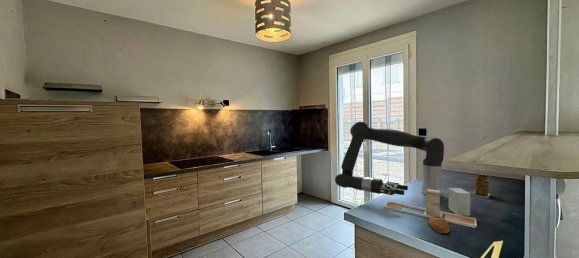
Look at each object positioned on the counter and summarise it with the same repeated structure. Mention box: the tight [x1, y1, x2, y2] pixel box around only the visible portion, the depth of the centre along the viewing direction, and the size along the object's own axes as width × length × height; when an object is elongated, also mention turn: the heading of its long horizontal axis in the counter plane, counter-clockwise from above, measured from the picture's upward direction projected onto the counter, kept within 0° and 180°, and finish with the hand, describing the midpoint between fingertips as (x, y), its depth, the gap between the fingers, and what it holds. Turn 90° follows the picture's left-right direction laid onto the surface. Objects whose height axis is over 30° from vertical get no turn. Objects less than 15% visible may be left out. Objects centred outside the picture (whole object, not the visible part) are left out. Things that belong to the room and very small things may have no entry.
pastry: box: [427, 216, 450, 234], centre depth 93 cm, size 9×7×4 cm
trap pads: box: [387, 203, 475, 225], centre depth 107 cm, size 7×35×1 cm, turn 53°
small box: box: [448, 187, 471, 217], centre depth 108 cm, size 8×6×10 cm
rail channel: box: [383, 200, 478, 229], centre depth 107 cm, size 9×36×1 cm, turn 53°
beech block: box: [425, 189, 441, 216], centre depth 105 cm, size 5×5×11 cm
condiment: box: [471, 172, 491, 199], centre depth 132 cm, size 7×8×12 cm
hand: (406, 190), depth 112 cm, fingers open, 8 cm apart
